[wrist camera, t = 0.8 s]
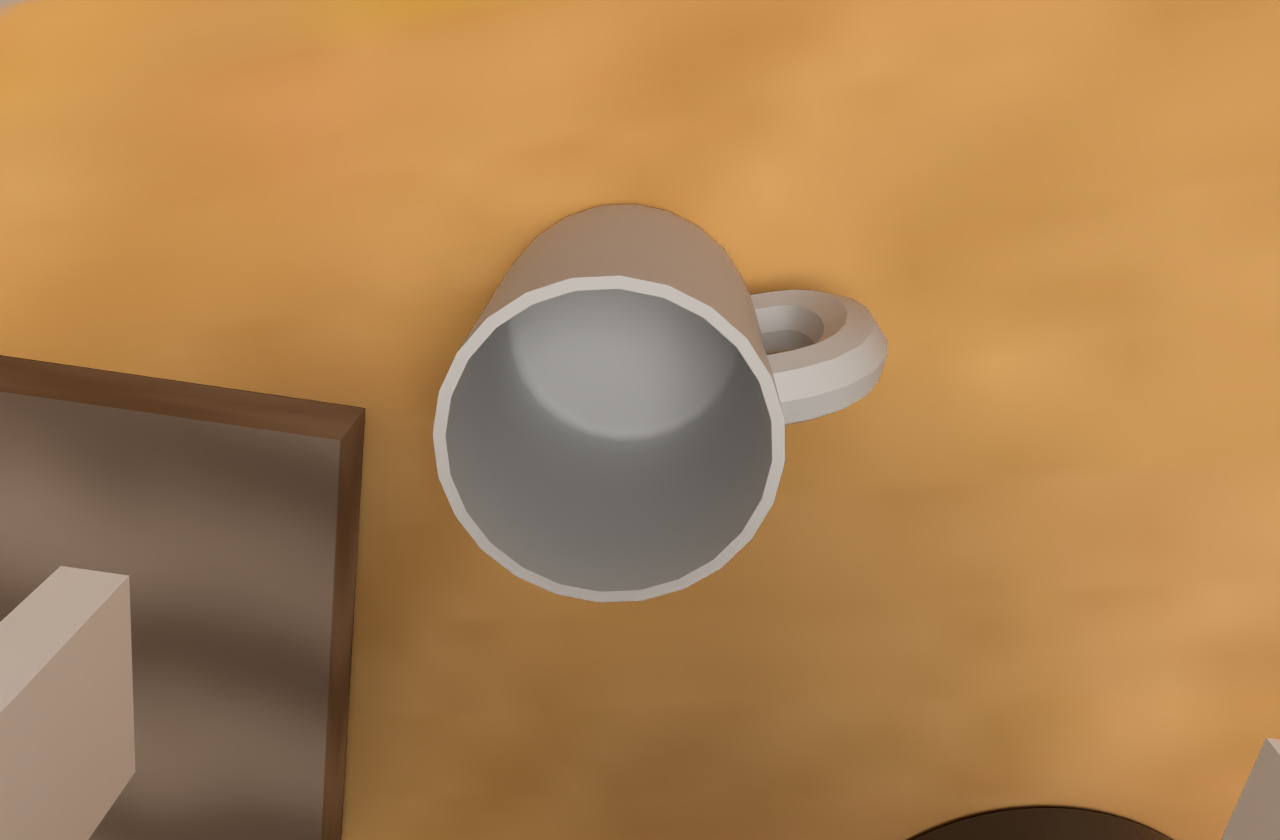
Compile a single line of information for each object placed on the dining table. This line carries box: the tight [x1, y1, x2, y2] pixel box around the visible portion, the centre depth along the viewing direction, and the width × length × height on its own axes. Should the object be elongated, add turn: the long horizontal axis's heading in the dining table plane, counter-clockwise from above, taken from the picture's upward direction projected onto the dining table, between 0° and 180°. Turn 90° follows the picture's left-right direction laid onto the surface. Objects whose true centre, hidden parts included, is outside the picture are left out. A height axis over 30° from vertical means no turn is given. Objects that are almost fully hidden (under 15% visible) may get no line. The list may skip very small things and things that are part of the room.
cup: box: [433, 204, 887, 602], centre depth 26 cm, size 7×10×9 cm
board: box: [0, 356, 365, 840], centre depth 33 cm, size 16×13×2 cm
